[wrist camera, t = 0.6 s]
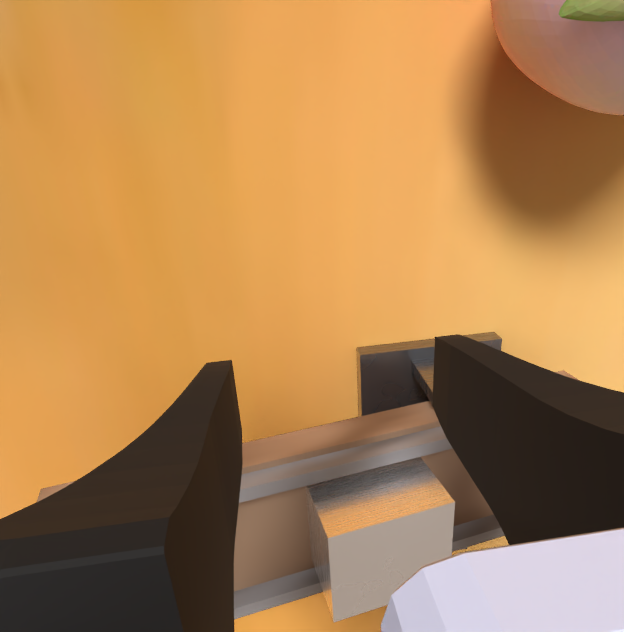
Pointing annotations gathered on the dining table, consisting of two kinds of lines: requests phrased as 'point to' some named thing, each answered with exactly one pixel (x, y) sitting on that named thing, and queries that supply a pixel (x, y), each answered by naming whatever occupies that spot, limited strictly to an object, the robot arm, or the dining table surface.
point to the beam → (321, 465)
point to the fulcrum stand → (401, 373)
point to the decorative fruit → (567, 48)
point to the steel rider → (376, 533)
